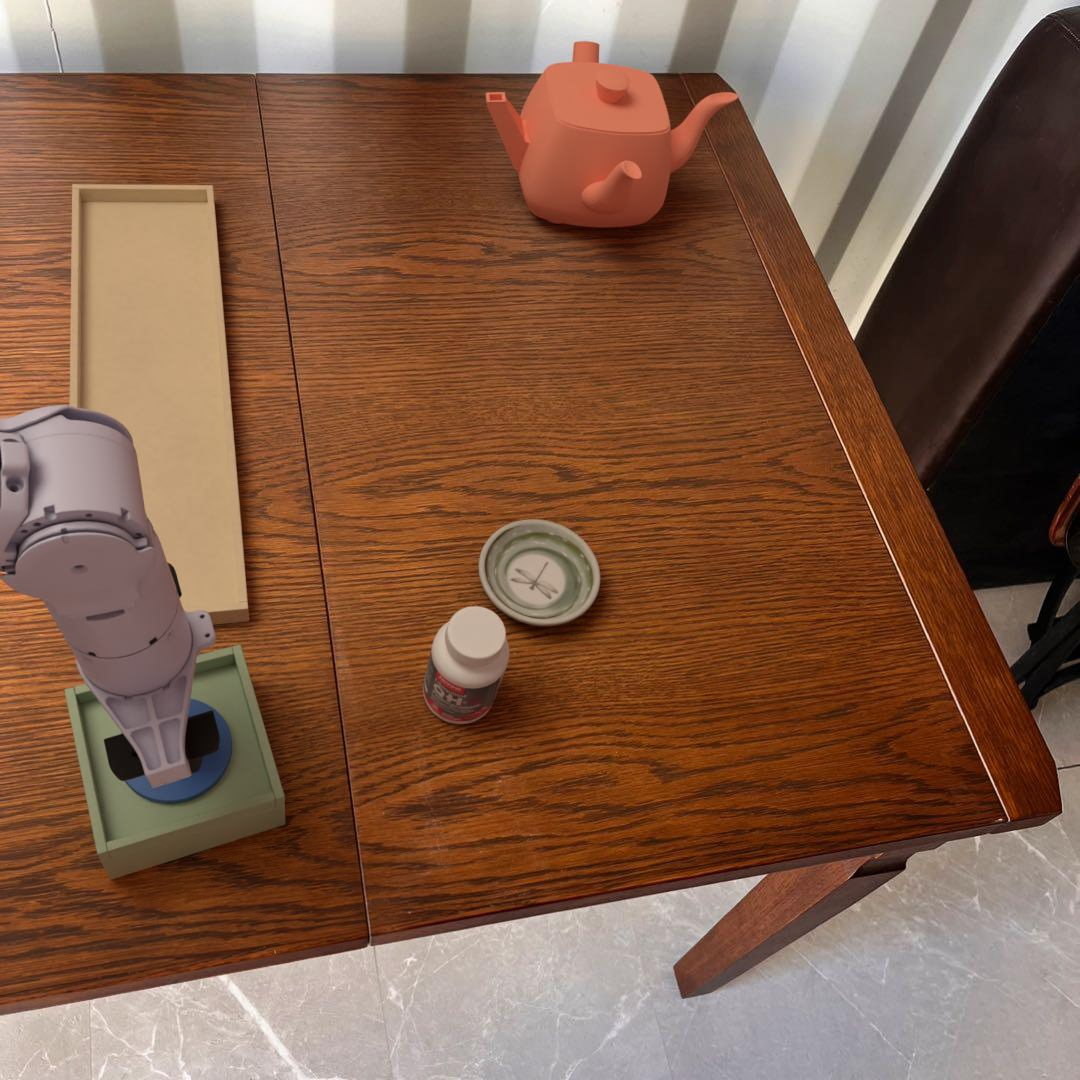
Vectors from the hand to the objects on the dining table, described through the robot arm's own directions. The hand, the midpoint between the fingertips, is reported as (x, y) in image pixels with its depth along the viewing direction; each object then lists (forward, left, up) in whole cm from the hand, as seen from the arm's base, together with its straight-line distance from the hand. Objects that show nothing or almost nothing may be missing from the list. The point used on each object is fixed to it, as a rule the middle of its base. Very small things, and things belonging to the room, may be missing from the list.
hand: (166, 712), depth 65 cm
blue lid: (0, 0, -6) cm, 6 cm away
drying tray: (+5, +33, -10) cm, 35 cm away
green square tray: (0, 0, -10) cm, 10 cm away
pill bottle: (+20, 0, -10) cm, 22 cm away
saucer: (+29, +7, -10) cm, 31 cm away
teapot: (+52, +49, -10) cm, 72 cm away
